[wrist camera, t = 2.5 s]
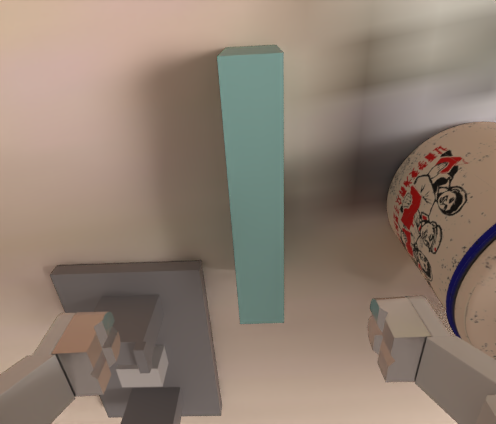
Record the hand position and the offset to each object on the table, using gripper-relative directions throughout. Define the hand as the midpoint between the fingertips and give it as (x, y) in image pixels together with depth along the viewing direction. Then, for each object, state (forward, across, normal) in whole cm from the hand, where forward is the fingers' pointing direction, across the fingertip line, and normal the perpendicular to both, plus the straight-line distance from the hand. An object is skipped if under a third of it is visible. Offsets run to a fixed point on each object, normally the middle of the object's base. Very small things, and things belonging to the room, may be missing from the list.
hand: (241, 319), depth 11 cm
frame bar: (+11, -1, 0) cm, 11 cm away
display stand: (+11, +8, +14) cm, 20 cm away
